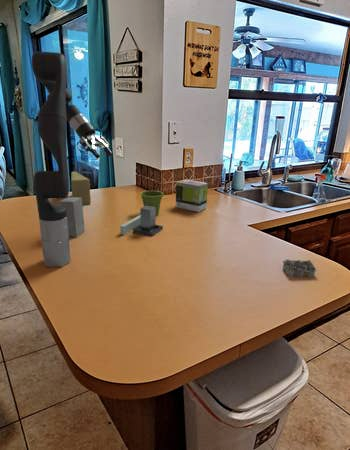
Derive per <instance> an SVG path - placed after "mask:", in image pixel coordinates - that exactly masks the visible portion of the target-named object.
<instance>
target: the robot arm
mask: <svg viewBox="0 0 350 450" xmlns="http://www.w3.org/2000/svg"><path fill="white" fill-rule="evenodd" d="M66 61H67V60H66V57H65V55H64V54H63V53H60V52H52V51H35V52H34V53H32V56H31V68H32V72H33V74H34V77H35V78H36V80H37V81H38V82H39V83H41V84H42V85H43V86H44V87H45V89H46V91H47V92H48V95H47V97H46V100H45V102H44V103H43V104H42V106H41V107H40V110H39V111H38V115H37V118H38V119H37V123H38V124H37V127H38V130H37V131H38V132H37V133H38V135H39V137H40V139H41V140H42V142H43V144H44V145H45V147H47V149H48V150H49V152H50V153H51V155H52V156H53V159H54V160H55V163H56V165H57V170H39V171H36V172H35V173H34V176H33V187H34V188H33V189H34V192H35V193H34V194H35V198H36V199H35V200H36V206H37V212H38V219H39V221H38V222H39V228H40V229H39V231H40V239H41V247H42V249H41V250H42V258H43V263H44V267H50V268H51V267H52V268H53V267H54V268H56V267H57V268H58V267H59V268H60V267H61V268H62V267H64V266H65V265H67V264H69V263H70V262H71V250H70V249H71V248H70V239H69V238H70V236H69V235H68V222H67V211H66V208H65V207H63V206H60V204H57V203H55V202H53V201H51V199H65V198H68V197H69V193H70V178H69V168H68V155H67V153H68V151H67V148H68V146H67V145H68V144H67V143H68V141H67V140H68V138H67V137H68V136H67V135H68V130H67V129H68V126H67V125H68V124H69V125H70V127H71V128H72V130H73V131H74V133H76V135H77V136H78V138H80V139H79V143H80V144H81V146H82V147H83V148H84V150H85V151H86V152H87V153H88V152H89V153H92V155H93V156H94V157H95V158H96V159H97V160H99V159H100V157H101V153H99V152H98V149H96V148H95V147H97V148H100V149H102V150H103V152H105V154H106V155H107V156H108V157H110V156H112V154H113V152H112V151H111V150H110V148H109V146H110V143H109V142H108V141H107V139H106V138H105V137H104V136H103V135H102V134H99V135H97V134H96V129H95V127H94V126H93V124H91V122H90V121H89V120H88V119H87V117H86V116H85V115H84V114H83V113H82V112H81V111H80V109H79V108H78V107H77V106H76V105H75V104H69V103H71V102H72V100H73V94H72V93H71V91H70V90H69V89H68V88H67V62H66ZM67 104H68V105H67Z"/></svg>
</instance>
